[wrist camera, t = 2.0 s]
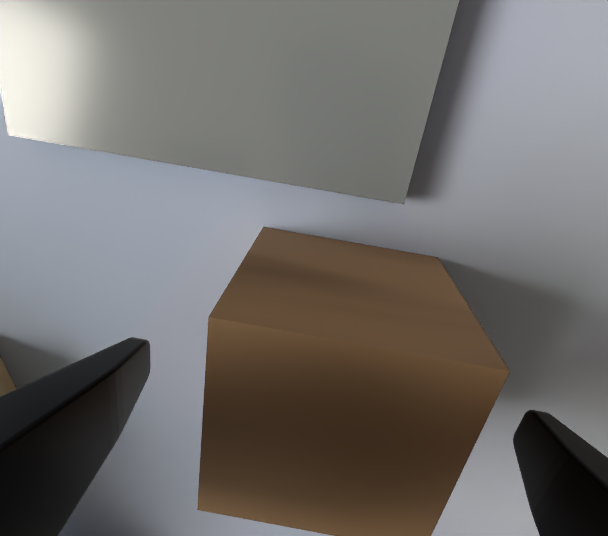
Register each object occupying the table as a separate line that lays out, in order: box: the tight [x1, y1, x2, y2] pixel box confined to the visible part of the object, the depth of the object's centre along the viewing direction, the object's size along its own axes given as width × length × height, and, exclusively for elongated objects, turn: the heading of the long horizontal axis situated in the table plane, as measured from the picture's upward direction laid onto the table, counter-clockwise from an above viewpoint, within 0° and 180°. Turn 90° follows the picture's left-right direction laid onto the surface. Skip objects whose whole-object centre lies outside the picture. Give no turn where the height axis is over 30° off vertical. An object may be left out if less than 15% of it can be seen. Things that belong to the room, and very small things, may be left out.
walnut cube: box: [197, 227, 510, 536], centre depth 9 cm, size 5×5×5 cm
